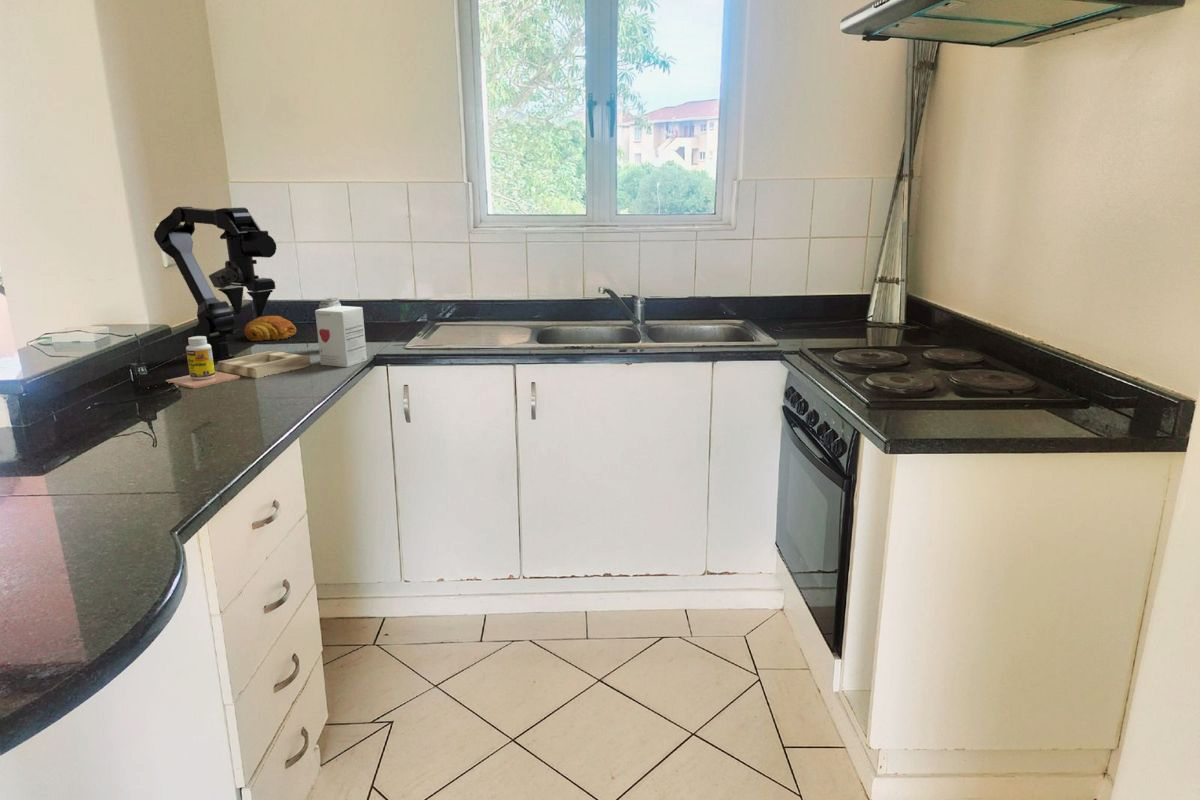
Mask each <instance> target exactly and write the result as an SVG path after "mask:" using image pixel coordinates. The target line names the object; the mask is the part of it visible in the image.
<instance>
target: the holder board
mask: <svg viewBox="0 0 1200 800" xmlns="http://www.w3.org/2000/svg"><path fill="white" fill-rule="evenodd" d="M310 357H311V356H307V355H301V354H296V353H295V354H294V353H289V352H284V351H283V352H282V351H276V350H268V351H263V352H258V353H253V354H250V355H244V356H239V357H232V358H228V359H223V360H218V361H217V363H218V370H219V371H218V372H223V373H228V374H233V375H238V376H243V377H248V378H253V379H260V377H261V378H264V376H265V377H269V376H274V375H277V374H281V372H282V373H285V372H290V370H291V371H294V370H299V369H303V368H306V367H311V358H310ZM273 374H274V375H273ZM268 375H269V376H268Z"/></svg>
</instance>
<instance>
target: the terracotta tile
mask: <svg viewBox="0 0 1200 800" xmlns="http://www.w3.org/2000/svg"><path fill="white" fill-rule="evenodd" d="M237 379H241V375H237V374H232V373H227V372H222V371H217V370H215V376H214V377H213V378H210V379H204V380H194V379H192V378H191V377H190V374H189V375H183V376H180V377H174V378H170V379H165V383H166V382H168V383H167V384H170V383H174V384H173V385H175V384H176V386H179V387H180V386H181V387H184V388H185V387H186V388H190V389H199V388H203V387H208V386H213V385H215V384H216V385H217V384H222V383H226V382H228V381H235V380H237Z"/></svg>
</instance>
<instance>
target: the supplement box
mask: <svg viewBox="0 0 1200 800" xmlns="http://www.w3.org/2000/svg"><path fill="white" fill-rule="evenodd" d="M363 309H364V307H362V306H349V305H341V306H332V307H328V308H323V309H319V308H318V309H315V310H314V315H315V322H316V331H317V341H318V349H319V350H318V351H319V360H320V365H321V366H329V367H331V366H332V367H343V368H350V367H352V366H356V365H358V364H361V363H364V362H366V361H368V357H367V345H366V334H365V323H364V321H365V320H364V311H363Z"/></svg>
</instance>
